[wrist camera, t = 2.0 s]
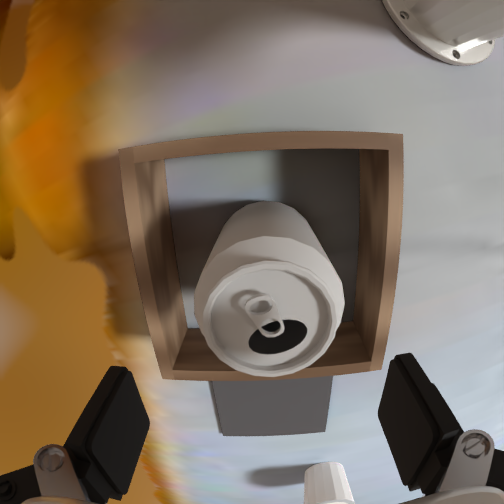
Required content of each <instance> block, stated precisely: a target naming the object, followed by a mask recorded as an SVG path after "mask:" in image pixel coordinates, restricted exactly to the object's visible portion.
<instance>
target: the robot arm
mask: <svg viewBox="0 0 504 504" xmlns="http://www.w3.org/2000/svg"><path fill="white" fill-rule="evenodd" d="M382 1H383V4H384V6H385V8H386V10H387V11H388V13H389V14H390V16H391V18H392V19H393V20H394V22H395V23H396V24H397V26H398V27H399V28H400V29H401V30H402V31H403V32H404V34H405V35H406V36H407V37H408V38H409V39H410V40H411V41H413V42H414V43H415V44H416V45H417V46H419V47H420V48H421V49H422V50H424V51H425V52H427V53H429V54H430V55H432V56H433V57H435V58H437V59H439V60H441V61H443V62H446V63H450V64H453V65H459V66H468V65H474V64H477V63H480V62H482V61H484V60H485V59H486V58H488V57H489V55H490V54H491V52H492V50H493V48H494V45H495V39H497V38H500V37H503V36H504V0H382ZM378 418H379V421H380V423H381V426H382V428H383V431H384V434H385V436H386V439H387V442H388V444H389V447H390V450H391V452H392V455H393V458H394V461H395V463H396V466H397V469H398V472H399V475H400V477H401V480H402V483H403V485H405V486H406V485H408V488H409V491H413V490H417V489H420V488H421V491H422V493H423V496H422V497H421V498H417V499H414V500H410V501H407V502H403V503H400V504H504V451H501V450H498V449H494V442H493V439H492V438H491V436H490V435H489V434H487V433H486V432H484V431H481V430H475V429H474V430H468V431H466V432H464V431H463V430H462V428H461V426H460V425H459V423H458V421H457V420H456V418H455V416H454V415H453V413H452V411H451V410H450V408H449V406H448V405H447V403H446V402H445V400H444V398H443V397H442V395H441V394H440V392H439V391H438V389H437V387H436V386H435V385H434V384H433V383H431V382H430V380H429V379H428V377H427V376H426V374H425V373H424V371H423V369H422V368H421V366H420V365H419V363H418V362H417V360H416V359H415V357H414V356H413V354H412V353H405V354H400V355H396V356H395V358H394V359H393V360H391V361H390V365H389V369H388V373H387V378H386V382H385V386H384V390H383V394H382V398H381V401H380V405H379V409H378ZM149 426H150V421H149V418H148V415H147V413H146V410H145V407H144V405H143V402H142V400H141V397H140V394H139V391H138V389H137V386H136V383H135V380H134V377H133V375H132V372H131V371H128V369H127V368H126V367H120V366H111V367H110V368H109V369H108V371H107V372H106V374H105V376H104V377H103V379H102V380H101V382H100V384H99V385H98V387H97V389H96V390H95V392H94V394H93V396H92V397H91V399H90V400H89V402H88V404H87V405H86V407H85V409H84V410H83V412H82V414H81V415H80V417H79V419H78V421H77V422H76V424H75V426H74V428H73V430H72V431H71V433H70V435H69V437H68V438H67V440H66V442H65V444H64V446H63V447H62V446H60V445H56V444H50V445H46V446H44V447H42V448H40V449H39V450H38V451H37V453H36V454H35V456H34V459H33V463H34V464H33V465H30V466H28V467H25V468H22V469H19V470H16V471H13V472H10V473H7V474H4V475H1V476H0V504H107V502H108V499H109V498H112V499H116V500H120V501H121V499H122V495H123V494H124V495H125V494H126V493H127V492H128V488H129V486H130V483H131V479H132V476H133V474H134V471H135V467H136V464H137V462H138V459H139V456H140V453H141V450H142V447H143V444H144V441H145V438H146V435H147V433H148V430H149Z"/></svg>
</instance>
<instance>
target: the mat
mask: <svg viewBox="0 0 504 504" xmlns="http://www.w3.org/2000/svg"><path fill="white" fill-rule="evenodd" d="M332 379H333V376H324V377H312V378H299V379H282V380H257V381H212V384H213V389H214V394H215V400H216V404H217V409H218V414H219V419H220V424H221V428H222V433H223V436H274V435H293V434H307V433H318V432H325V429H326V423H327V416H328V409H329V402H330V395H331V387H332Z"/></svg>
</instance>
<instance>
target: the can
mask: <svg viewBox="0 0 504 504" xmlns="http://www.w3.org/2000/svg"><path fill="white" fill-rule="evenodd" d="M344 305H345V302H344V294H343V287H342V282H341V280H340V278H339V276H338V275H337V273H336V271H335V269H334V267H333V266H332V264H331V262H330V260H329V258H328V257H327V255H326V253H325V251H324V250H323V248H322V246H321V244H320V243H319V241H318V239H317V237H316V236H315V234H314V232H313V231H312V229H311V227H310V226H309V224H308V222H307V220H306V219H305V218H304V217H303V216H302V215H301V214H300V213H299V212H297V211H296V210H295V209H294V208H292V207H290V206H287V205H285V204H282V203H280V202H272V201H260V202H256V203H252V204H248V205H246V206H244V207H243V208H241V209H240V210H238V211H236V212H235V213H234V214H233V215H232V216H231V217H230V218H229V220H228V221H227V222H226V223H225V224H224V226H223V228H222V230H221V233H220V235H219V237H218V239H217V241H216V243H215V245H214V247H213V249H212V252H211V254H210V256H209V258H208V260H207V262H206V264H205V266H204V269H203V271H202V273H201V276H200V278H199V281H198V284H197V287H196V290H195V292H194V314H195V317H196V320H197V322H198V325H199V327H200V330H201V333H202V334H203V335H204V337H205V339H206V342H207V344H208V346H209V347H210V349H211V350H212V351H213V352H214V353H215V355H216V356H217V357H218V358H219V359H220V360H221V361H223V362H224V363H226V364H227V365H229V366H230V367H232V368H233V369H235V370H237V371H240V372H243V373H247V374H250V375H253V376H264V377H277V376H282V375H287V374H292V373H295V372H297V371H299V370H301V369H304V368H306V367H308V366H310V365H311V364H312V363H314V362H315V361H316V360H317V359H318V358H320V357H321V356H322V355H323V354H324V353H325V352H326V350H327V349H328V347H329V346H330V344H331V342H332V341H333V339H334V338H335V334H336V330H337V328H338V327H339V325H340V323H341V318H342V314H343V309H344Z"/></svg>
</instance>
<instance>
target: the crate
mask: <svg viewBox="0 0 504 504" xmlns="http://www.w3.org/2000/svg"><path fill="white" fill-rule="evenodd" d="M316 148H347V149H359V162H360V217H359V247H358V265H357V281H356V294H355V305H354V315H353V321H348V322H341V323H340V325H339V327H338V328H337V330H336V334H335V338H334V339H333V341H332V342H331V344H330V346H329V347H328V349H327V350H326V352H325V353H324V354H323V355H322V356H321V357H320V358H318V359H317V360H316V361H315V362H314V363H312V364H311V365H310V366H308V367H306V368H304V369H301V370H299V371H297V372H295V373H292V374H287V375H282V376H277V377H264V376H253V375H250V374H247V373H243V372H240V371H237V370H235V369H233V368H232V367H230V366H229V365H227V364H226V363H224V362H223V361H221V360H220V359H219V358H218V357H217V356H216V355H215V353H214V352H213V351H212V350H211V349H210V347H209V346H208V344H207V342H206V339H205V337H204V335H203V334H202V333H201V330H200V329H188V327H187V322H186V316H185V311H184V305H183V299H182V294H181V288H180V281H179V275H178V269H177V262H176V255H175V248H174V241H173V234H172V226H171V218H170V210H169V201H168V193H167V183H166V173H165V162H164V159H168V158H177V157H185V156H195V155H205V154H216V153H228V152H241V151H257V150H278V149H316ZM118 151H119V162H120V171H121V180H122V189H123V197H124V204H125V211H126V218H127V225H128V231H129V237H130V243H131V249H132V254H133V259H134V265H135V270H136V275H137V280H138V285H139V289H140V294H141V298H142V303H143V307H144V311H145V316H146V320H147V324H148V328H149V332H150V336H151V339H152V343H153V347H154V351H155V354H156V358H157V361H158V365H159V368H160V372H161V375H162V378H163V379H172V380H197V381H257V380H282V379H299V378H312V377H324V376H334V375H343V374H352V373H360V372H368V371H375V370H381V369H382V364H383V359H384V355H385V350H386V345H387V339H388V334H389V328H390V323H391V317H392V310H393V304H394V297H395V289H396V281H397V273H398V264H399V254H400V242H401V229H402V211H403V134H394V133H377V132H351V131H291V132H265V133H248V134H234V135H222V136H211V137H201V138H192V139H184V140H176V141H168V142H161V143H154V144H147V145H141V146H135V147H129V148H124V149H118Z"/></svg>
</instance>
